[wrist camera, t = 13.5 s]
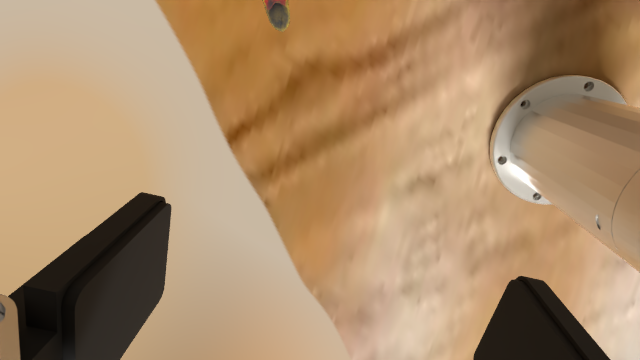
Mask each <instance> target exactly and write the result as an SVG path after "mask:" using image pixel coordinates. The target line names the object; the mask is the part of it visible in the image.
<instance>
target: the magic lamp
mask: <svg viewBox="0 0 640 360" xmlns="http://www.w3.org/2000/svg"><path fill="white" fill-rule="evenodd" d="M262 1H263V3H264V6H265V10H266V13H267V16H268V18H269V20H270V23H271V24H272V26H273V27H274V28H275V29H276V30H279V31H285V30H286V29H287V27H288V26H289V23H290V13H289V4H288V0H262Z"/></svg>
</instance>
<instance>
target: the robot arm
mask: <svg viewBox="0 0 640 360" xmlns="http://www.w3.org/2000/svg"><path fill="white" fill-rule="evenodd" d="M584 85H585V87H584ZM522 101H523V102H524V103H523V105H521V103H522ZM499 157H501V158H500V159H499V160H498V158H499ZM490 160H491V164H492V168H493V170H494V172H495V175H496V177H497V178H498V179H499V181H500V182H501V183H502V185H503V186H504V187H505V188H507V189H508V190H509V191H510V192H511V193H512V194H514V195H516V196H517V197H519V198H520V199H523V200H526V201H528V202H531V203H537V204H553V205H554V206H556V207H557V208H558V209H559V210H561V211H562V212H563V213H565V214H566V215H567V216H568V217H570V218H571V219H572V220H574V221H575V222H576V223H577V224H579V225H580V226H581V227H582V228H584V229H585V230H586V231H588V232H589V233H590V234H591V235H593V236H594V237H595V238H596V239H598V240H599V241H600V242H602V243H603V244H604V245H605V246H607V247H608V248H609V249H611V250H612V251H613V252H614V253H616V254H617V255H618V256H619V257H621V258H622V259H623V260H625V261H626V262H627V263H628V264H629V265H631V266H632V267H633V268H635V269H636V270H637V271H638V272H640V108H638V107H633V106H629V105H627V103H626V102H625V100H624V99H623V97H622V95H621V94H620V93H619V92H618V91H617V90H615V89H614V88H613V87H612V86H610V85H609V84H607V83H605V82H603V81H602V80H598V79H595V78H592V77H587V76H580V75H562V76H557V77H552V78H549V79H546V80H543V81H541V82H538V83H536V84H534V85H533V86H531V87H529V88H527V89H526V90H524V91H523V92H522V93H520V94H519V95H518V96H517V97H516V98H514V99H513V100H512V101H511V103H510V104H509V105H508V106H507V107H506V108H505V109H504V111H503V112H502V114H501V116H500V117H499V119H498V121H497V122H496V125H495V127H494V130H493V133H492V137H491V142H490ZM534 193H535V194H534ZM170 217H171V205H170V204H168V203H166V202H165V198H164V197H161V196H157V195H152V194H147V193H143V192H142V193H139V194H138V195H137V196H136V197H135V198H133V199H132V200H130V201H129V202H128V203H127V204H125V205H124V206H123V207H122V208H120V209H119V210H118V211H117V212H115V213H114V214H113V215H112V216H110V217H109V218H108V219H107V220H105V221H104V222H103V223H101V224H100V225H99V226H98V227H96V228H95V229H94V230H93V231H91V232H90V233H89V234H87V235H86V236H84V237H83V238H81V239H80V240H79V241H78V242H76V243H75V244H74V245H73V246H71V247H70V248H69V249H68V250H66V251H65V252H64V253H63V254H61V255H60V256H59V257H57V258H56V259H55V260H54V261H52V262H51V263H50V264H49V265H47V266H46V267H45V268H43V269H42V270H41V271H40V272H39V273H37V274H36V275H35V276H33V277H32V278H31V279H30V280H28V281H27V282H26V283H24V284H23V285H22V286H21V287H19V288H18V289H17V290H16V291H14V292H13V293H12V294H11V295H9V296H8V297H7V296H5V295H2V294H0V360H120V358H121V357H122V356H123V354H124V353H125V351H126V350H127V348H128V347H129V345H130V344H131V342H132V341H133V339H134V338H135V336H136V335H137V333H138V332H139V330H140V329H141V327H142V326H143V324H144V323H145V321H146V320H147V318H148V317H149V316H150V314H151V313H152V311H153V310H154V308H155V307H156V305H157V304H158V302H159V300H160V299H161V297H162V294H163V291H164V285H165V274H166V262H167V251H168V240H169V229H170ZM474 360H610V359H609V358H608V356H607V355H606V354H605V353H604V352H603V350H602V349H601V348H600V347H599V346H598V344H597V343H596V342H595V341H594V340H593V339H592V337H591V336H590V335H589V334H588V333H587V331H586V330H585V329H584V328H583V327H582V325H581V324H580V323H579V322H578V321H577V320H576V318H575V317H574V316H573V315H572V314H571V312H570V311H569V310H568V309H567V308H566V306H565V305H564V304H563V303H562V302H561V300H560V299H559V298H558V297H557V296H556V295H555V293H554V292H553V291H552V290H551V289H550V287H549V286H548V285H547V284H546V283H545V282H544V281H542V280H538V279H533V278H529V277H524V276H519V277H518V278H516V279H515V280H511V281H510V282H509V284H508V285H507V287H506V289H505V292H504V294H503V296H502V298H501V300H500V302H499V304H498V306H497V308H496V310H495V312H494V314H493V316H492V318H491V320H490V322H489V324H488V326H487V328H486V330H485V333H484V335H483V337H482V339H481V341H480V343H479V345H478V347H477V349H476V351H475V354H474Z"/></svg>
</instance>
